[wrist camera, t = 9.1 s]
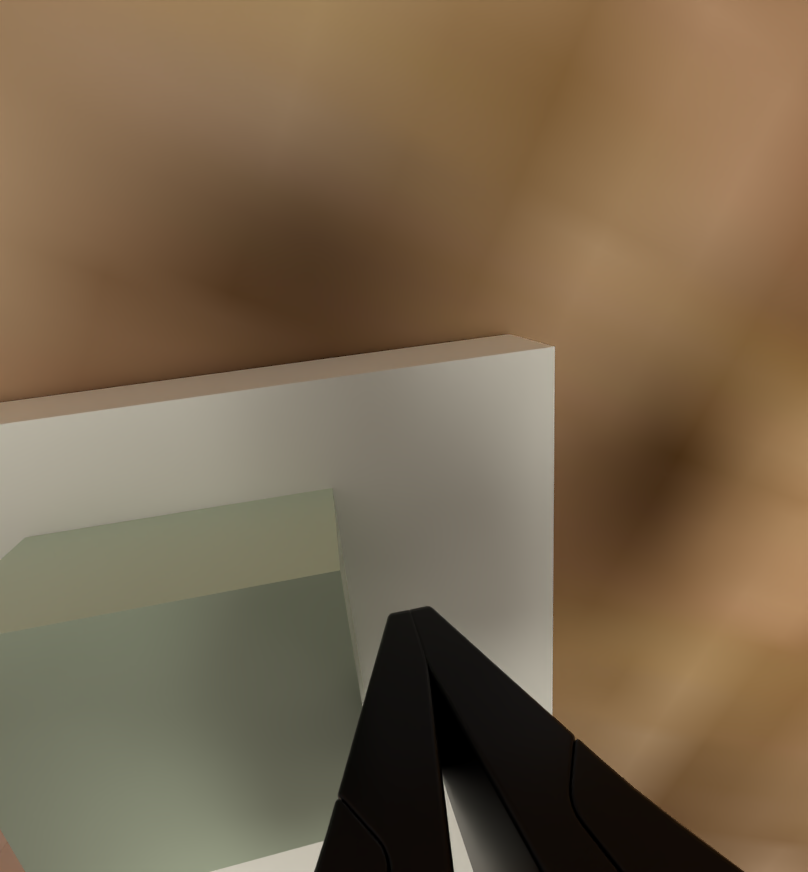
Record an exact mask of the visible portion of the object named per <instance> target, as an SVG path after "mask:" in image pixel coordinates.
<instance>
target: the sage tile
mask: <svg viewBox="0 0 808 872" xmlns="http://www.w3.org/2000/svg"><path fill="white" fill-rule="evenodd" d="M364 699H365V692H364V685H363V679H362V672H361V666H360V660H359V653H358V647H357V641H356V634H355V628H354V622H353V615H352V609H351V603H350V596H349V590H348V584H347V577H346V571H345V564H344V558H343V552H342V545H341V539H340V533H339V526H338V520H337V514H336V507H335V501H334V495H333V488H329V489H323V490H317V491H311V492H304V493H298V494H292V495H286V496H280V497H273V498H267V499H261V500H255V501H249V502H242V503H236V504H230V505H224V506H218V507H211V508H205V509H199V510H193V511H187V512H180V513H174V514H168V515H162V516H156V517H149V518H143V519H137V520H131V521H125V522H118V523H112V524H106V525H100V526H93V527H87V528H81V529H75V530H69V531H62V532H56V533H50V534H44V535H38V536H31V537H25V538H24V539H23V540H22V541H21V542H20V543H18V544H17V545H16V546H15V547H14V548H13V549H12V550H11V551H10V552H8V553H7V554H6V555H5V556H4V557H3V558H2V559H1V560H0V830H1V831H2V833H3V835H4V837H5V838H6V840H7V842H8V843H9V845H10V847H11V848H12V850H13V852H14V854H15V855H16V857H17V859H18V860H19V862H20V864H21V865H22V867H23V869H24V871H25V872H211V871H215V870H218V869H222V868H226V867H229V866H233V865H237V864H241V863H244V862H248V861H252V860H255V859H259V858H263V857H266V856H270V855H274V854H277V853H281V852H285V851H289V850H292V849H296V848H300V847H303V846H307V845H311V844H314V843H318V842H322V841H324V839H325V835H326V832H327V829H328V825H329V822H330V818H331V815H332V811H333V808H334V804H335V801H336V800H337V799H338V791H339V787H340V784H341V780H342V777H343V773H344V770H345V766H346V763H347V759H348V756H349V752H350V749H351V745H352V741H353V738H354V734H355V731H356V727H357V724H358V720H359V717H360V713H361V710H362V706H363V702H364Z"/></svg>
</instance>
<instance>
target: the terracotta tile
mask: <svg viewBox="0 0 808 872" xmlns="http://www.w3.org/2000/svg"><path fill="white" fill-rule="evenodd" d="M0 872H25V871H24V869H23V867H22V865H21V864H20V862H19V860H18V859H17V857H16V855H15V854H14V852H13V850H12V848H11V847H10V845H9V843H8V842H7V840H6V838H5V837H4V835H3V833H2V831H1V830H0Z"/></svg>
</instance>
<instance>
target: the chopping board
mask: <svg viewBox="0 0 808 872" xmlns="http://www.w3.org/2000/svg"><path fill="white" fill-rule="evenodd" d="M554 402H555V346H551V345H548V344H544V343H541V342H537V341H533V340H530V339H526V338H523V337H519V336H516V335H512V334H506V335H499V336H491V337H484V338H476V339H469V340H461V341H454V342H447V343H439V344H432V345H424V346H417V347H409V348H402V349H394V350H387V351H380V352H372V353H365V354H357V355H350V356H342V357H335V358H328V359H320V360H313V361H305V362H298V363H290V364H283V365H275V366H268V367H261V368H253V369H246V370H238V371H231V372H223V373H216V374H208V375H201V376H194V377H186V378H179V379H171V380H164V381H156V382H149V383H142V384H134V385H127V386H119V387H112V388H104V389H97V390H89V391H82V392H75V393H67V394H60V395H52V396H45V397H37V398H30V399H23V400H15V401H8V402H0V560H1V559H2V558H3V557H4V556H5V555H6V554H7V553H8V552H10V551H11V550H12V549H13V548H14V547H15V546H16V545H17V544H18V543H20V542H21V541H22V540H23V539H24V538H25V537H31V536H38V535H44V534H50V533H56V532H62V531H69V530H75V529H81V528H87V527H93V526H100V525H106V524H112V523H118V522H125V521H131V520H137V519H143V518H149V517H156V516H162V515H168V514H174V513H180V512H187V511H193V510H199V509H205V508H211V507H218V506H224V505H230V504H236V503H242V502H249V501H255V500H261V499H267V498H273V497H280V496H286V495H292V494H298V493H304V492H311V491H317V490H323V489H329V488H333V495H334V501H335V507H336V514H337V520H338V526H339V533H340V539H341V545H342V552H343V558H344V564H345V571H346V577H347V584H348V590H349V596H350V603H351V609H352V615H353V622H354V628H355V634H356V641H357V647H358V653H359V660H360V666H361V672H362V679H363V685H364V692H365V695H366V692H367V688H368V685H369V681H370V678H371V674H372V671H373V667H374V664H375V660H376V656H377V653H378V649H379V646H380V642H381V639H382V635H383V632H384V628H385V625H386V621H387V618H388V616H389V614H390V613H394V612H399V611H404V610H410V609H414V608H419V607H424V606H430V607H432V608H433V609H434V610H436V611H437V612H438V613H439V614H440V615H441V616H442V617H443V618H444V619H446V620H447V621H448V622H449V623H450V624H451V625H452V626H453V627H454V628H456V629H457V630H458V631H459V632H460V633H461V634H462V635H463V636H464V637H466V638H467V639H468V640H469V641H470V642H471V643H472V644H473V645H474V646H476V647H477V648H478V649H479V650H480V651H481V652H482V653H483V654H484V655H486V656H487V657H488V658H489V659H490V660H491V661H492V662H493V663H494V664H496V665H497V666H498V667H499V668H500V669H501V670H502V671H503V672H504V673H506V674H507V675H508V676H509V677H510V678H511V679H512V680H513V681H514V682H516V683H517V684H518V685H519V686H520V687H521V688H522V689H523V690H524V691H526V692H527V693H528V694H529V695H530V696H531V697H532V698H533V699H534V700H536V701H537V702H538V703H539V704H540V705H541V706H542V707H543V708H544V709H546V710H547V711H548V712H549V713H550V714H551V715H552V686H553V544H554ZM443 783H444V782H443ZM444 792H445V800H446V808H447V817H448V825H449V833H450V842H451V850H452V858H453V867H454V872H473V869H472V866H471V863H470V860H469V857H468V854H467V851H466V848H465V845H464V842H463V839H462V836H461V833H460V830H459V827H458V824H457V821H456V818H455V815H454V812H453V809H452V806H451V803H450V800H449V797H448V794H447V791H446V788H445V785H444ZM323 842H324V841H322V842H318V843H314V844H311V845H307V846H303V847H300V848H296V849H292V850H289V851H285V852H281V853H277V854H274V855H270V856H266V857H263V858H259V859H255V860H252V861H248V862H244V863H241V864H237V865H233V866H229V867H226V868H222V869H218V870H215V871H211V872H314V870H315V867H316V864H317V861H318V858H319V854H320V851H321V848H322V845H323Z"/></svg>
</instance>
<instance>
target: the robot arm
mask: <svg viewBox="0 0 808 872" xmlns="http://www.w3.org/2000/svg"><path fill="white" fill-rule="evenodd" d="M443 782H444V783H443ZM444 785H445V788H446V791H447V794H448V797H449V800H450V803H451V806H452V809H453V812H454V815H455V818H456V821H457V824H458V827H459V830H460V833H461V836H462V839H463V842H464V845H465V848H466V851H467V854H468V857H469V860H470V863H471V866H472V869H473V872H744V871H743V870H741V869H740V868H739V867H737V866H736V865H735V864H733V863H732V862H731V861H729V860H728V859H727V858H725V857H724V856H723V855H721V854H720V853H719V852H717V851H716V850H715V849H713V848H712V847H711V846H709V845H708V844H707V843H705V842H704V841H703V840H701V839H700V838H699V837H697V836H696V835H695V834H693V833H692V832H691V831H689V830H688V829H687V828H685V827H684V826H683V825H681V824H680V823H679V822H677V821H676V820H675V819H674V818H672V817H671V816H670V815H668V814H667V813H666V812H665V811H663V810H662V809H661V808H659V807H658V806H657V805H656V804H654V803H653V802H652V801H651V800H649V799H648V798H647V797H645V796H644V795H643V794H642V793H640V792H639V791H638V790H636V789H635V788H634V787H633V786H632V785H631V784H629V783H628V782H627V781H626V780H625V779H624V778H622V777H621V776H620V775H619V774H618V773H617V772H615V771H614V770H613V769H612V768H611V767H610V766H608V765H607V764H606V763H605V762H604V761H603V760H601V759H600V758H599V757H598V756H597V755H596V754H595V753H594V752H592V751H591V750H590V749H589V748H588V747H587V746H586V745H585V744H584V743H583V742H581V741H580V740H579V739H577V740H575V736H574V735H573V734H572V733H571V732H570V731H569V730H568V729H567V728H566V727H564V726H563V725H562V724H561V723H560V722H559V721H558V720H557V719H556V718H554V717H553V716H552V715H551V714H550V713H549V712H548V711H547V710H546V709H544V708H543V707H542V706H541V705H540V704H539V703H538V702H537V701H536V700H534V699H533V698H532V697H531V696H530V695H529V694H528V693H527V692H526V691H524V690H523V689H522V688H521V687H520V686H519V685H518V684H517V683H516V682H514V681H513V680H512V679H511V678H510V677H509V676H508V675H507V674H506V673H504V672H503V671H502V670H501V669H500V668H499V667H498V666H497V665H496V664H494V663H493V662H492V661H491V660H490V659H489V658H488V657H487V656H486V655H484V654H483V653H482V652H481V651H480V650H479V649H478V648H477V647H476V646H474V645H473V644H472V643H471V642H470V641H469V640H468V639H467V638H466V637H464V636H463V635H462V634H461V633H460V632H459V631H458V630H457V629H456V628H454V627H453V626H452V625H451V624H450V623H449V622H448V621H447V620H446V619H444V618H443V617H442V616H441V615H440V614H439V613H438V612H437V611H436V610H434V609H433V608H432V607H430V606H424V607H419V608H414V609H410V610H404V611H399V612H394V613H390V614H389V616H388V618H387V621H386V625H385V628H384V632H383V635H382V639H381V642H380V646H379V649H378V653H377V656H376V660H375V664H374V667H373V671H372V674H371V678H370V681H369V685H368V688H367V692H366V695H365V699H364V702H363V706H362V710H361V713H360V717H359V720H358V724H357V727H356V731H355V734H354V738H353V741H352V745H351V749H350V752H349V756H348V759H347V763H346V766H345V770H344V773H343V777H342V780H341V784H340V787H339V791H338V799H337V800H336V801H335V804H334V808H333V811H332V815H331V818H330V822H329V825H328V829H327V832H326V835H325V839H324V842H323V845H322V848H321V851H320V854H319V858H318V861H317V864H316V867H315V870H314V872H454V867H453V858H452V850H451V842H450V833H449V825H448V817H447V808H446V800H445V792H444Z"/></svg>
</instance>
